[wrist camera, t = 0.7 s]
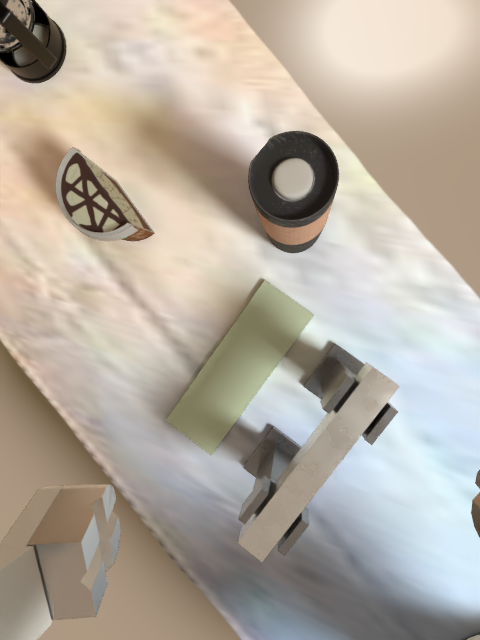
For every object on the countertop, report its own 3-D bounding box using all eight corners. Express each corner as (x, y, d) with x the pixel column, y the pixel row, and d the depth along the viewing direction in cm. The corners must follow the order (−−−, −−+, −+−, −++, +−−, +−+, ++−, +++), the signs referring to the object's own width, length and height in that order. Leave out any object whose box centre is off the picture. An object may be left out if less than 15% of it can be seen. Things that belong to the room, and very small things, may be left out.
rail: (391, 380, 39) (399, 386, 36) (264, 543, 41) (261, 562, 38) (366, 362, 39) (372, 366, 36) (241, 526, 41) (237, 543, 38)
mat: (313, 314, 51) (314, 314, 51) (212, 453, 54) (211, 455, 53) (265, 280, 52) (264, 279, 51) (167, 419, 55) (165, 420, 54)
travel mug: (324, 253, 51) (343, 218, 31) (266, 257, 52) (249, 227, 32) (321, 194, 51) (338, 122, 31) (263, 200, 52) (243, 134, 32)
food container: (78, 200, 56) (31, 177, 46) (110, 172, 55) (69, 143, 45) (127, 268, 55) (90, 259, 45) (160, 241, 54) (130, 226, 44)
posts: (379, 375, 50) (414, 403, 35) (285, 497, 53) (281, 571, 38) (335, 343, 51) (351, 358, 36) (244, 465, 53) (224, 526, 38)
